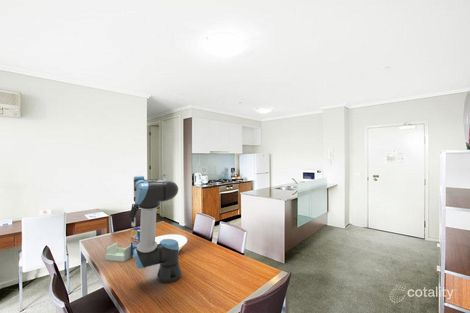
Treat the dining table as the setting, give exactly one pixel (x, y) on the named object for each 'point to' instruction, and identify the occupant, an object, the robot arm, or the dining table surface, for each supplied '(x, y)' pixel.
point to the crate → (117, 253)
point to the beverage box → (134, 240)
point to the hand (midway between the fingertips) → (139, 223)
